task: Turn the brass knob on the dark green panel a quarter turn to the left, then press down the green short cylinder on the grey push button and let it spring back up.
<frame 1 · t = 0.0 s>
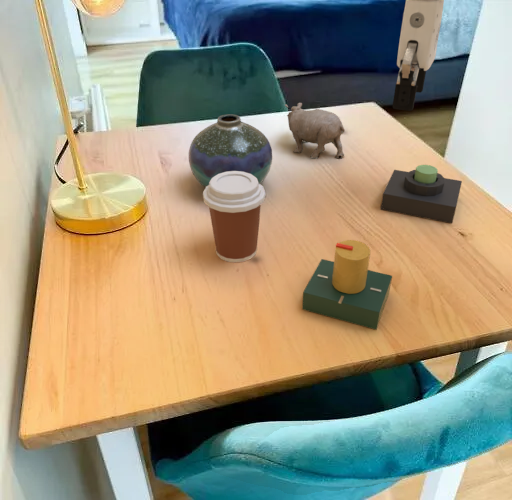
hand: (407, 99, 85), 17 cm above the table, tool pointing down, fingers open, 9 cm apart
coffee cup: (236, 251, 79), on the table
green short cylinder: (425, 174, 87), point 6 cm above the table, slide at 0.1 cm
knob: (350, 265, 66), point 6 cm above the table, hinge at 0.0°
vase: (231, 186, 97), on the table
panel: (346, 300, 69), on the table
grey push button: (420, 202, 90), on the table
rhinoceros figurine: (308, 149, 110), on the table
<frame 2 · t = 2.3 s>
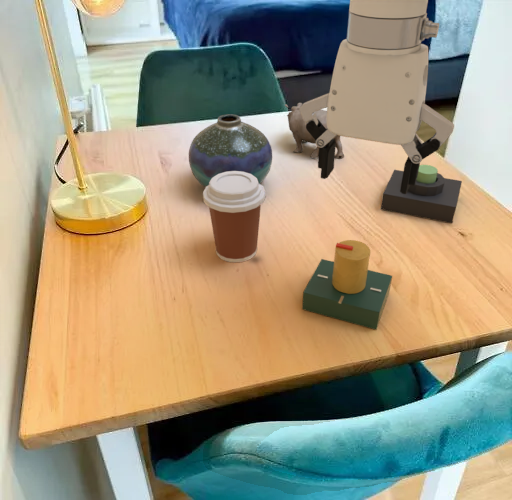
hand: (365, 181, 62), 17 cm above the table, tool pointing down, fingers open, 9 cm apart
nothing on the table moved.
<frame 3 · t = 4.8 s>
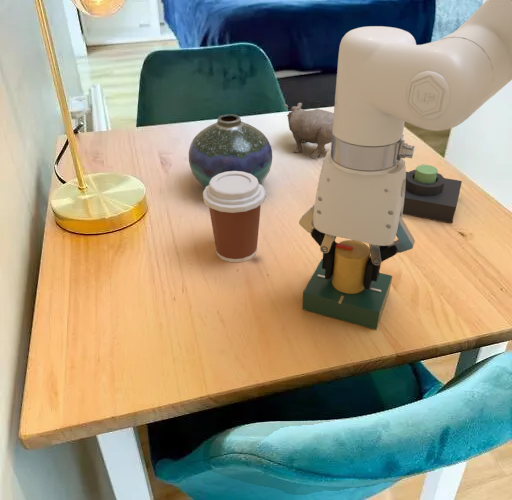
hand: (349, 276, 67), 4 cm above the table, tool pointing down, fingers closed on knob, 4 cm apart
knob: (350, 265, 66), point 6 cm above the table, hinge at 0.1°, touching gripper
everything else where it was.
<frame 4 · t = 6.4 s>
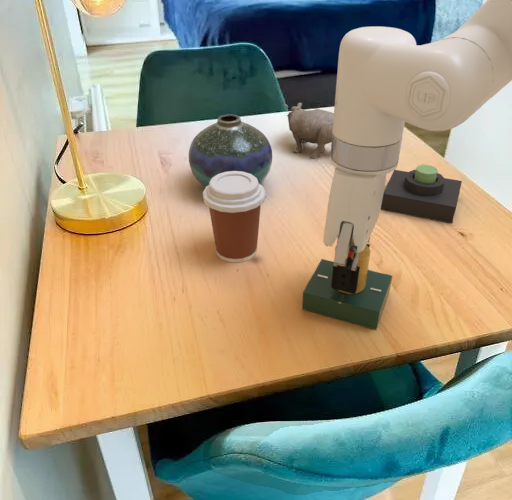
hand: (349, 276, 67), 4 cm above the table, tool pointing down, fingers closed on knob, 4 cm apart
knob: (350, 265, 66), point 6 cm above the table, hinge at 90.3°, touching gripper
everything else where it was.
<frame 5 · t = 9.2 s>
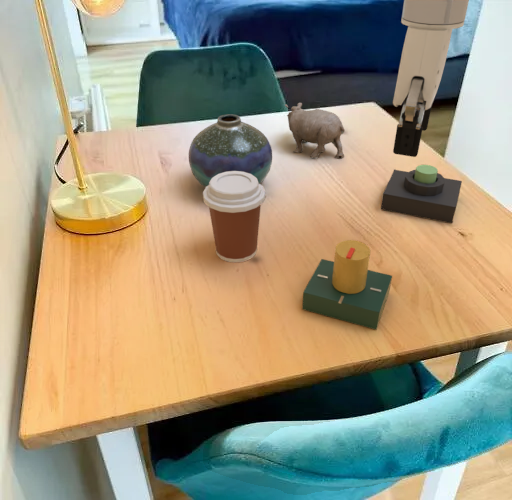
hand: (410, 141, 72), 16 cm above the table, tool pointing down, fingers open, 9 cm apart
knob: (350, 265, 66), point 6 cm above the table, hinge at 89.6°
everything else where it was.
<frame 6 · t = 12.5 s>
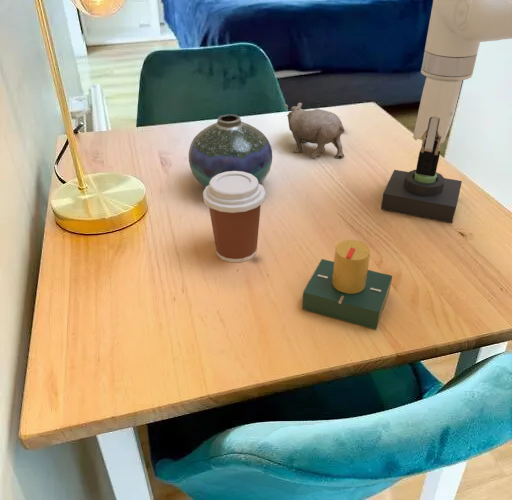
hand: (425, 172, 87), 6 cm above the table, tool pointing down, fingers closed
green short cylinder: (424, 178, 88), point 5 cm above the table, slide at -0.7 cm, touching gripper
everything else where it was.
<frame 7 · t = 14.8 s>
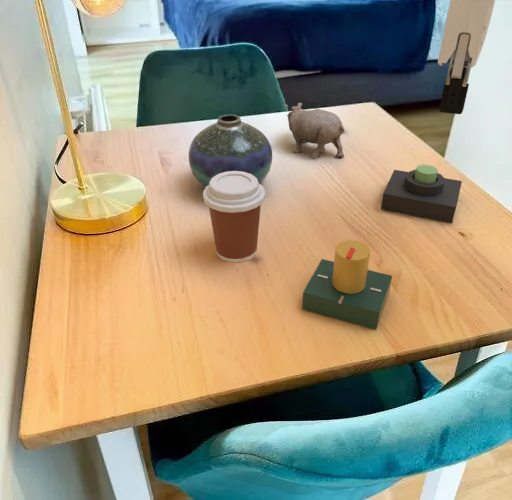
hand: (451, 111, 74), 19 cm above the table, tool pointing down, fingers closed
green short cylinder: (425, 174, 87), point 6 cm above the table, slide at 0.1 cm
everything else where it was.
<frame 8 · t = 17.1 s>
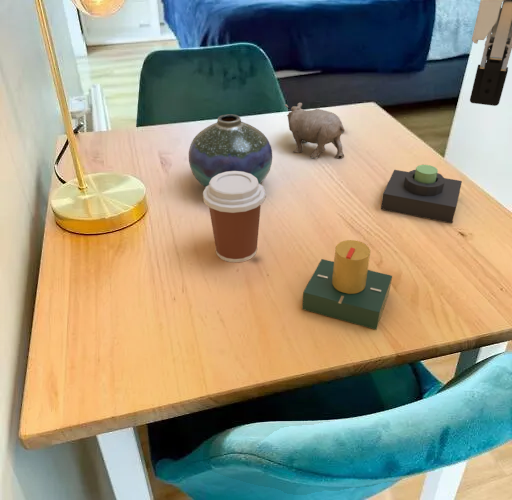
hand: (484, 101, 60), 25 cm above the table, tool pointing down, fingers closed
nothing on the table moved.
at the end: knob at +90° (first picture: +0°); green short cylinder pushed in 1.1 cm at the most during the clip, back to where it started at the end; green short cylinder slide at 0.1 cm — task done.
